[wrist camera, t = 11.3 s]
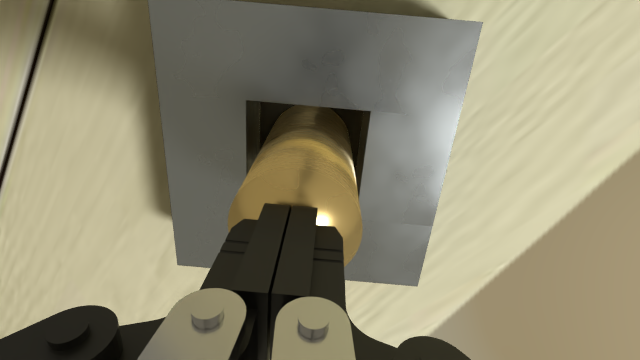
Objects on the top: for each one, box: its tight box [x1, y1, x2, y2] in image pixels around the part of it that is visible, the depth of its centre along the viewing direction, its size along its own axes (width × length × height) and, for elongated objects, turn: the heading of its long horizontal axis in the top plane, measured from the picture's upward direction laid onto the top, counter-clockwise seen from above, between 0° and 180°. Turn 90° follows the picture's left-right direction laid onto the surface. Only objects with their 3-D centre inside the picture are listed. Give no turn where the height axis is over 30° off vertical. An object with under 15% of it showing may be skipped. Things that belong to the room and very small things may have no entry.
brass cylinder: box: [228, 105, 363, 267], centre depth 14 cm, size 4×4×8 cm
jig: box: [148, 0, 483, 286], centre depth 16 cm, size 12×12×3 cm
